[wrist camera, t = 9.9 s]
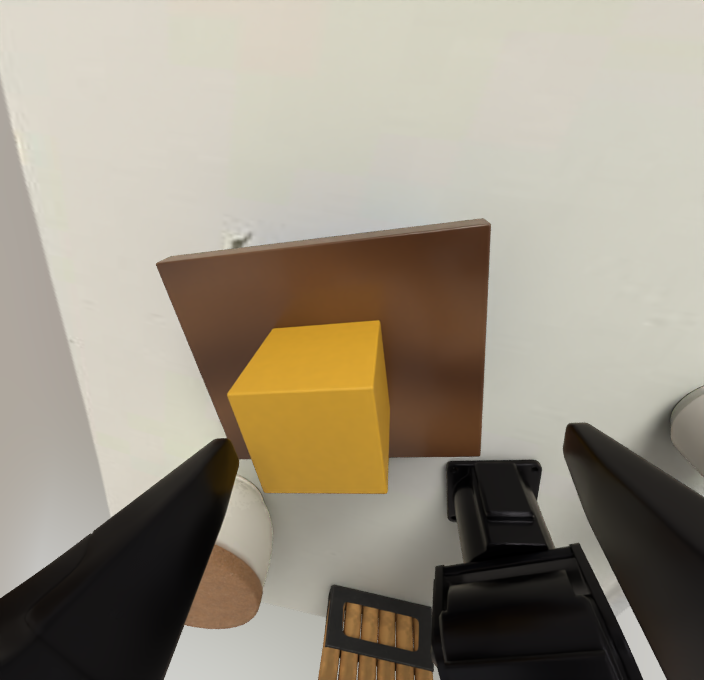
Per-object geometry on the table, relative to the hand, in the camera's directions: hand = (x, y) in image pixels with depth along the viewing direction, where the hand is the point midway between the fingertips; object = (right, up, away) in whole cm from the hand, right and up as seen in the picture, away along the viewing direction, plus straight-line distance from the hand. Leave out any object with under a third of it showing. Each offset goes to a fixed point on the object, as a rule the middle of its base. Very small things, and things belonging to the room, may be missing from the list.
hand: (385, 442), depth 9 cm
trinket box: (-12, -11, +22) cm, 27 cm away
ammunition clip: (+2, -25, +27) cm, 37 cm away
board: (-2, +2, +8) cm, 9 cm away
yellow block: (-2, +1, +7) cm, 8 cm away
